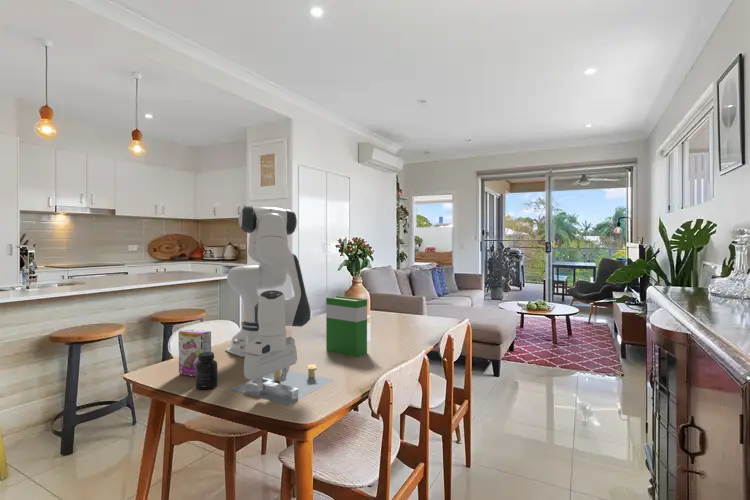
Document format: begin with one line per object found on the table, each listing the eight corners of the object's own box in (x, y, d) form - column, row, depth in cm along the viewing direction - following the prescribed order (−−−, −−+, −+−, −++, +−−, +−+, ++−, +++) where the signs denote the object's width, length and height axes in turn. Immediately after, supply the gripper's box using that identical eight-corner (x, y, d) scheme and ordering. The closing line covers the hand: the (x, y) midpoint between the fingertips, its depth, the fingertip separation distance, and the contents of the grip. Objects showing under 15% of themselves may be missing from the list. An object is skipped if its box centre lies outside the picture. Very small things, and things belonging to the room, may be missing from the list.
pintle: (272, 383, 133) (272, 370, 133) (277, 381, 135) (277, 368, 135) (277, 384, 132) (277, 371, 132) (282, 382, 134) (282, 369, 134)
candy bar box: (178, 375, 144) (177, 331, 143) (188, 370, 148) (188, 328, 148) (202, 378, 140) (201, 333, 139) (212, 374, 145) (211, 330, 144)
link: (301, 396, 122) (301, 386, 122) (287, 403, 117) (287, 393, 116) (260, 385, 131) (260, 376, 131) (245, 391, 126) (245, 382, 125)
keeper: (308, 380, 136) (308, 368, 136) (307, 376, 140) (307, 364, 140) (316, 379, 136) (316, 368, 136) (315, 375, 141) (315, 364, 141)
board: (230, 391, 128) (230, 388, 128) (281, 370, 149) (281, 368, 149) (287, 407, 116) (287, 404, 116) (334, 382, 136) (334, 379, 136)
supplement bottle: (200, 385, 133) (199, 350, 133) (220, 385, 134) (220, 350, 133) (192, 393, 126) (191, 356, 126) (213, 392, 127) (213, 356, 127)
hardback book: (326, 350, 176) (326, 297, 176) (337, 346, 182) (337, 295, 182) (356, 357, 166) (356, 301, 165) (367, 353, 172) (367, 299, 171)
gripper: (287, 334, 134) (287, 374, 134) (240, 348, 116) (240, 394, 117) (301, 336, 131) (301, 377, 131) (255, 351, 113) (255, 398, 113)
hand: (272, 385), depth 124 cm, fingers open, 8 cm apart
